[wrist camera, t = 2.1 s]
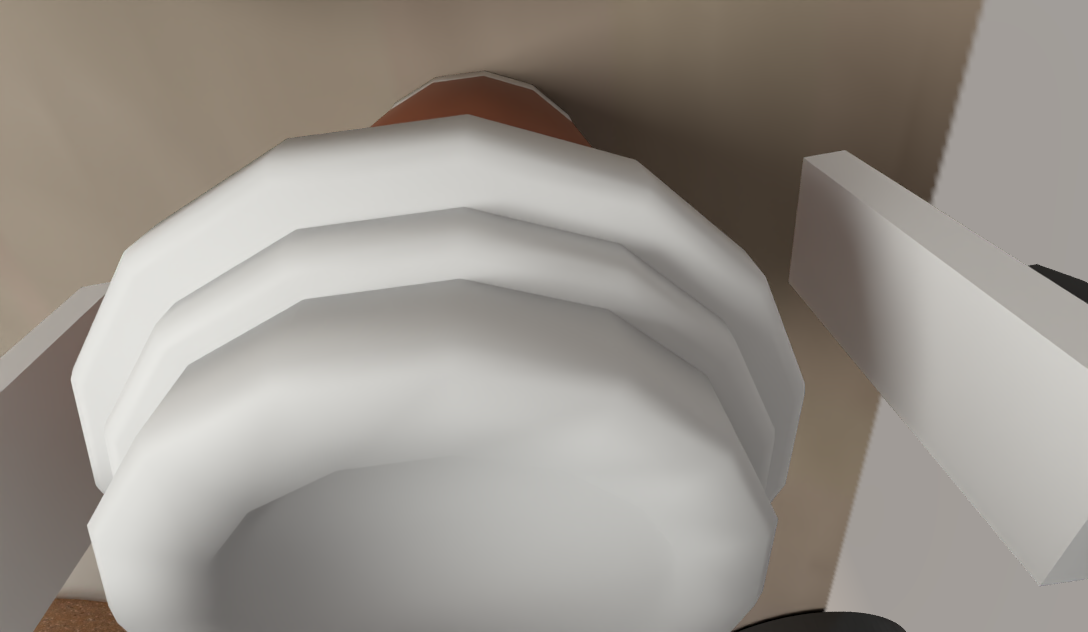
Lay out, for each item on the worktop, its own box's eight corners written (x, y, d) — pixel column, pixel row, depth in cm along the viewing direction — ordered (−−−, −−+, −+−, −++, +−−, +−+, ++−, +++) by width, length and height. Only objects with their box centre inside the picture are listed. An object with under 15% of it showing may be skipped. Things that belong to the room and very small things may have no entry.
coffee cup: (287, -7, 13) (-439, 177, 3) (669, 27, 14) (1114, 251, 4) (337, 317, 18) (137, 787, 8) (613, 325, 19) (741, 753, 9)
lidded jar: (214, 602, 26) (97, 876, 19) (-12, 482, 21) (-312, 800, 13) (394, 524, 24) (344, 802, 16) (192, 363, 18) (-29, 669, 11)
